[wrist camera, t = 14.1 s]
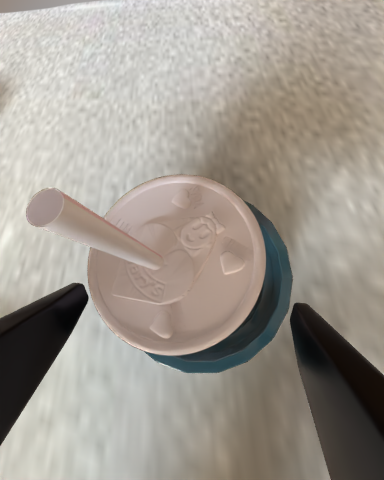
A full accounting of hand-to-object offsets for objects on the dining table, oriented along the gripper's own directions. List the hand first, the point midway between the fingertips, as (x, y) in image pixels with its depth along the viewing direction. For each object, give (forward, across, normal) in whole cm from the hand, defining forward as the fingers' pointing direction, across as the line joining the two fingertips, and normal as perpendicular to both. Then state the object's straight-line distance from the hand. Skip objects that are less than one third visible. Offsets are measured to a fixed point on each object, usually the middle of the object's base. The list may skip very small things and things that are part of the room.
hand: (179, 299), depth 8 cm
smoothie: (+7, 0, +4) cm, 8 cm away
